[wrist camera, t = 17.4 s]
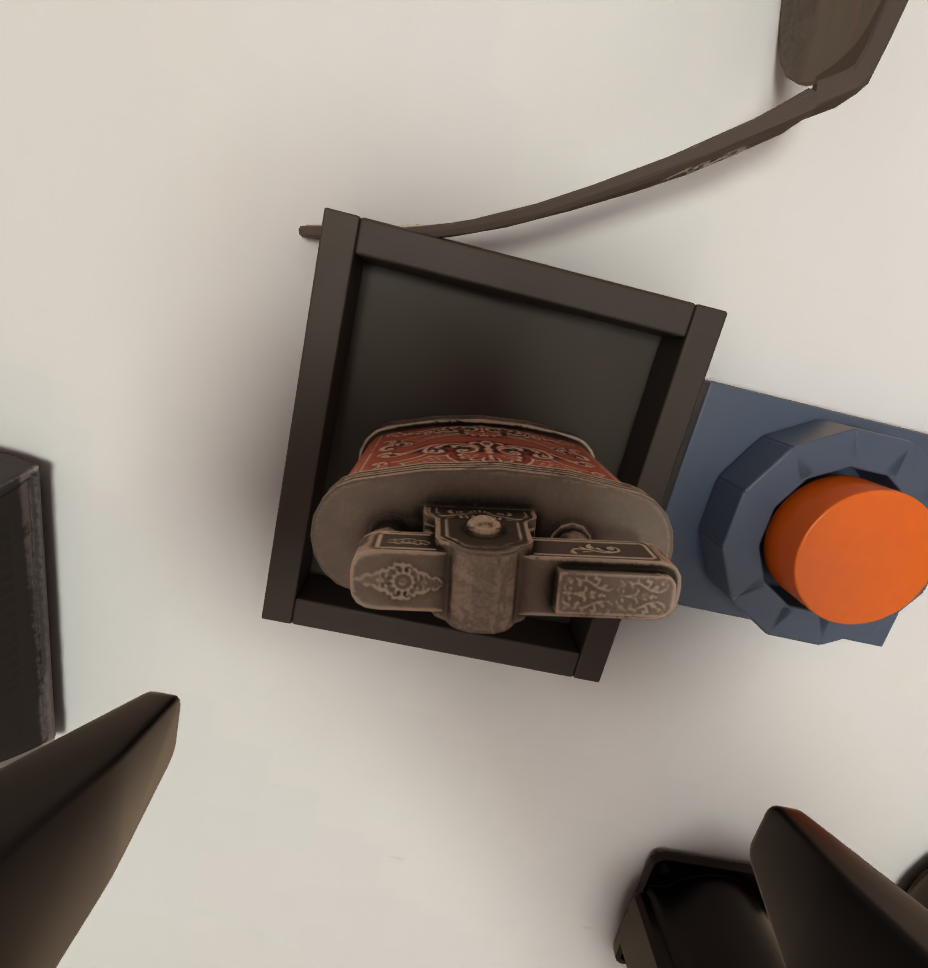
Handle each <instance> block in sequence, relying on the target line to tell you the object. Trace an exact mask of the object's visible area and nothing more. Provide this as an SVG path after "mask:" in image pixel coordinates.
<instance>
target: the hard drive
mask: <svg viewBox="0 0 928 968" xmlns="http://www.w3.org/2000/svg"><path fill="white" fill-rule="evenodd" d="M49 640H50V636H49V618H48V600H47V587H46V569H45V553H44V540H43V526H42V506H41V491H40V473H39V466H38V465H37V464H34V463H29V462H26V461H25V460H23V459H21V458H18V457H15V456H12V455H8V454H3V453H0V769H1V768H3V767H4V766H6V765H8V764H10V763H12V762H14V761H16V760H18V759H20V758H22V757H24V756H26V755H27V754H29V753H31V752H33V751H35V750H37V749H39V748H41V747H43V746H45V745H47V744H49V743H51V742H52V741H54V739H55V735H56V733H55V716H54V705H53V687H52V674H51V660H50V658H51V653H50V643H49Z"/></svg>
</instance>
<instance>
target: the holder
mask: <svg viewBox="0 0 928 968" xmlns="http://www.w3.org/2000/svg"><path fill="white" fill-rule="evenodd" d="M726 316H727V312H726V311H722V310H718V309H715V308H711V307H707V306H703V305H699V304H698V305H695V304H694V303H691V302H687V301H683V300H680V299H676V298H672V297H668V296H664V295H660V294H656V293H653V292H649V291H645V290H641V289H637V288H633V287H629V286H626V285H622V284H618V283H614V282H610V281H606V280H602V279H599V278H595V277H591V276H587V275H583V274H579V273H576V272H572V271H568V270H564V269H560V268H556V267H552V266H549V265H545V264H541V263H537V262H533V261H529V260H525V259H522V258H518V257H514V256H510V255H506V254H502V253H498V252H495V251H491V250H487V249H483V248H479V247H475V246H471V245H468V244H464V243H460V242H456V241H452V240H448V239H444V238H440V237H434V236H431V235H428V234H425V233H421V232H417V231H414V230H410V229H406V228H402V227H398V226H394V225H391V224H387V223H383V222H379V221H375V220H371V219H367V218H360V217H359V216H357V215H353V214H349V213H345V212H341V211H337V210H334V209H330V208H325V209H324V216H323V222H322V229H321V235H320V242H319V248H318V255H317V261H316V268H315V274H314V281H313V287H312V294H311V300H310V307H309V313H308V320H307V326H306V333H305V339H304V346H303V352H302V359H301V365H300V372H299V378H298V385H297V391H296V398H295V404H294V411H293V417H292V424H291V430H290V437H289V443H288V450H287V456H286V463H285V469H284V476H283V482H282V489H281V495H280V502H279V508H278V515H277V521H276V528H275V534H274V541H273V547H272V554H271V560H270V567H269V573H268V580H267V586H266V593H265V599H264V606H263V612H262V618H263V619H269V620H274V621H279V622H284V623H291V622H292V623H293V624H297V625H303V626H308V627H313V628H318V629H323V630H329V631H334V632H339V633H344V634H350V635H355V636H360V637H365V638H371V639H376V640H381V641H386V642H391V643H397V644H402V645H407V646H412V647H418V648H423V649H428V650H433V651H438V652H444V653H449V654H454V655H459V656H465V657H470V658H475V659H480V660H485V661H491V662H496V663H501V664H506V665H512V666H517V667H522V668H527V669H533V670H538V671H543V672H548V673H553V674H559V675H564V676H569V677H572V676H573V677H574V678H579V679H584V680H589V681H594V682H599V681H600V678H601V675H602V672H603V669H604V667H605V664H606V661H607V658H608V655H609V652H610V649H611V646H612V644H613V641H614V638H615V635H616V632H617V629H618V626H619V623H620V621H621V619H620V618H593V617H566V616H539V615H526V617H525V618H524V620H522V621H520V622H517V623H514V624H513V626H512V627H511V628H510V629H508V630H506V631H504V632H500V633H495V634H481V633H467V632H463V631H460V630H457V629H455V628H453V627H451V626H450V625H449V624H448V623H447V622H446V621H445V620H442V619H439V618H437V617H435V616H434V614H433V613H432V612H431V611H404V610H377V609H371V608H365V607H363V606H361V605H360V604H358V603H356V601H355V600H354V598H353V597H352V595H351V590H350V589H348V588H345V587H343V586H341V585H338V584H336V583H335V582H334V581H333V580H332V579H331V578H330V577H329V576H328V575H327V574H325V573H324V572H323V570H322V568H321V567H320V565H319V563H318V561H317V559H316V557H315V556H314V552H313V547H312V542H311V536H310V534H311V527H312V520H313V515H314V513H315V511H316V510H317V508H318V506H319V504H320V502H321V500H322V498H323V497H324V496H325V494H326V493H327V492H328V490H329V489H330V488H331V487H332V486H333V485H334V484H336V483H337V482H338V481H339V480H340V479H341V478H342V477H345V476H348V475H349V474H350V472H351V471H352V469H353V468H354V466H355V465H356V463H357V462H358V459H359V453H360V449H361V448H362V446H363V444H364V442H365V440H366V438H367V437H368V436H369V434H370V433H371V432H372V431H374V430H375V429H376V428H377V427H378V426H380V425H383V424H386V423H388V422H394V421H402V420H409V419H416V418H423V417H431V416H466V415H482V416H490V417H499V418H507V419H515V420H523V421H529V422H533V423H537V424H541V425H545V426H549V427H553V428H557V429H561V430H565V431H569V432H571V433H573V434H575V435H577V436H579V437H580V438H581V439H582V440H584V441H585V443H586V444H587V445H588V446H589V447H590V448H591V449H592V451H593V454H594V456H595V459H596V460H597V461H598V462H599V463H600V464H602V465H603V466H604V467H605V468H606V469H607V470H608V471H609V472H610V473H612V474H613V475H614V476H615V477H616V478H617V479H618V480H619V481H620V482H622V483H626V484H630V485H632V486H634V487H636V488H638V489H640V490H642V491H644V492H645V493H647V494H648V495H649V496H650V497H651V498H653V499H654V500H655V501H656V502H657V503H658V504H659V506H661V503H662V500H663V497H664V494H665V491H666V488H667V485H668V483H669V480H670V477H671V474H672V471H673V468H674V465H675V462H676V460H677V457H678V454H679V451H680V448H681V445H682V442H683V439H684V437H685V434H686V431H687V428H688V425H689V422H690V419H691V417H692V414H693V411H694V408H695V405H696V402H697V399H698V396H699V394H700V391H701V388H702V385H703V382H704V379H705V376H706V373H707V371H708V368H709V365H710V362H711V359H712V356H713V353H714V350H715V348H716V345H717V342H718V339H719V336H720V333H721V330H722V327H723V325H724V322H725V319H726Z"/></svg>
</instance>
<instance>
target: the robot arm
mask: <svg viewBox="0 0 928 968" xmlns="http://www.w3.org/2000/svg"><path fill="white" fill-rule="evenodd" d="M179 713H180V699H179V698H178V697H177V696H176V695H171V694H165V693H160V692H147V693H145V694H143V695H141V696H139V697H137V698H135V699H133V700H131V701H129V702H127V703H125V704H124V705H122V706H120V707H118V708H116V709H114V710H112V711H110V712H108V713H106V714H104V715H102V716H100V717H99V718H97V719H95V720H93V721H91V722H89V723H87V724H85V725H83V726H81V727H79V728H77V729H76V730H74V731H72V732H70V733H68V734H66V735H64V736H62V737H60V738H58V739H56V740H54V741H52V742H51V743H49V744H47V745H45V746H43V747H41V748H39V749H37V750H35V751H33V752H31V753H29V754H27V755H26V756H24V757H22V758H20V759H18V760H16V761H14V762H12V763H10V764H8V765H6V766H4V767H3V768H1V769H0V968H56V967H57V965H58V963H59V962H60V960H61V959H62V957H63V955H64V954H65V952H66V951H67V949H68V947H69V946H70V944H71V943H72V941H73V939H74V938H75V936H76V935H77V933H78V931H79V930H80V928H81V927H82V925H83V923H84V922H85V920H86V919H87V917H88V915H89V914H90V912H91V911H92V909H93V907H94V906H95V904H96V903H97V901H98V899H99V898H100V896H101V894H102V893H103V891H104V889H105V888H106V886H107V884H108V883H109V881H110V879H111V877H112V876H113V874H114V872H115V870H116V868H117V866H118V864H119V862H120V860H121V858H122V857H123V855H124V853H125V851H126V849H127V847H128V845H129V843H130V841H131V839H132V837H133V835H134V833H135V831H136V829H137V827H138V825H139V823H140V821H141V819H142V817H143V815H144V813H145V811H146V809H147V807H148V805H149V803H150V801H151V799H152V797H153V795H154V793H155V791H156V789H157V787H158V785H159V783H160V781H161V779H162V777H163V775H164V773H165V771H166V769H167V767H168V765H169V762H170V760H171V758H172V755H173V752H174V749H175V744H176V737H177V729H178V721H179ZM750 861H751V865H752V866H750V865H744V864H738V863H732V862H726V861H720V860H714V859H707V858H701V857H695V856H689V855H683V854H677V853H671V852H665V851H659V852H656V853H654V854H653V855H652V856H651V858H650V860H649V862H648V864H647V867H646V869H645V872H644V874H643V876H642V879H641V881H640V884H639V886H638V888H637V891H636V893H635V895H634V896H633V899H632V901H631V903H630V906H629V908H628V911H627V913H626V915H625V918H624V920H623V923H622V925H621V927H620V930H619V932H618V936H617V939H616V941H615V943H614V946H613V950H614V954H615V958H616V960H617V961H618V962H619V963H622V964H626V966H627V968H928V909H927V908H925V907H924V906H923V905H921V904H920V903H919V902H918V901H916V900H915V899H914V898H912V897H911V896H910V895H909V894H907V893H906V892H905V891H903V890H902V889H901V888H900V887H898V886H897V885H896V884H894V883H893V882H892V881H891V880H889V879H888V878H887V877H885V876H884V875H883V874H882V873H880V872H879V871H878V870H876V869H875V868H874V867H873V866H871V865H870V864H869V863H867V862H866V861H865V860H864V859H862V858H861V857H860V856H858V855H857V854H856V853H855V852H853V851H852V850H851V849H849V848H848V847H847V846H846V845H844V844H843V843H842V842H840V841H839V840H838V839H837V838H835V837H834V836H833V835H831V834H830V833H829V832H828V831H826V830H825V829H824V828H822V827H821V826H820V825H819V824H817V823H816V822H815V821H813V820H812V819H811V818H810V817H808V816H807V815H806V814H804V813H803V812H801V811H799V810H797V809H793V808H787V807H782V806H772V807H771V808H769V809H768V810H767V812H766V813H765V815H764V818H763V820H762V822H761V824H760V826H759V828H758V830H757V832H756V834H755V836H754V838H753V840H752V843H751V846H750Z"/></svg>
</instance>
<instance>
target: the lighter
mask: <svg viewBox="0 0 928 968" xmlns="http://www.w3.org/2000/svg"><path fill="white" fill-rule="evenodd" d="M310 536H311V542H312V547H313V552H314V556H315V557H316V559H317V561H318V563H319V565H320V567H321V568H322V570H323V572H324V573H325V574H327V575H328V576H329V577H330V578H331V579H332V580H333V581H334V582H335V583H336V584H338V585H341V586H343V587H345V588H348V589H350V590H351V595H352V597H353V598H354V600H355V601H356V603H358V604H360V605H361V606H363V607H365V608H371V609H377V610H404V611H431V612H432V613H433V614H434V616H435V617H437V618H439V619H442V620H445V621H446V622H447V623H448V624H449V625H450V626H451V627H453V628H455V629H457V630H460V631H463V632H467V633H481V634H495V633H500V632H504V631H506V630H508V629H510V628H511V627H512V626H513V624H514V623H517V622H520V621H522V620H524V618H525V617H526V615H539V616H566V617H593V618H620V619H647V620H650V619H661V618H663V617H665V616H667V615H670V613H671V612H672V611H673V610H674V609H675V608H676V605H677V602H678V599H679V595H680V590H681V575H680V573H679V571H678V569H677V567H676V566H675V565H674V564H673V563H672V562H671V561H670V558H671V555H672V552H673V530H672V527H671V524H670V521H669V518H668V515H667V514H666V512H665V511H664V510H663V509H662V508H661V507H660V506H659V504H658V503H657V502H656V501H655V500H654V499H653V498H651V497H650V496H649V495H648V494H647V493H645V492H644V491H642V490H640V489H638V488H636V487H634V486H632V485H630V484H626V483H622V482H620V481H619V480H618V479H617V478H616V477H615V476H614V475H613V474H612V473H610V472H609V471H608V470H607V469H606V468H605V467H604V466H603V465H602V464H600V463H599V462H598V461H597V460H596V459H595V456H594V454H593V451H592V449H591V448H590V447H589V446H588V445H587V444H586V443H585V441H584V440H582V439H581V438H580V437H579V436H577V435H575V434H573V433H571V432H569V431H565V430H561V429H557V428H553V427H549V426H545V425H541V424H537V423H533V422H529V421H523V420H515V419H507V418H499V417H490V416H482V415H466V416H431V417H423V418H416V419H409V420H402V421H394V422H388V423H386V424H383V425H380V426H378V427H377V428H376V429H375V430H374V431H372V432H371V433H370V434H369V436H368V437H367V438H366V440H365V442H364V444H363V446H362V448H361V449H360V453H359V459H358V462H357V463H356V465H355V466H354V468H353V469H352V471H351V472H350V474H349V475H348V476H345V477H342V478H341V479H340V480H339V481H338V482H337V483H336V484H334V485H333V486H332V487H331V488H330V489H329V490H328V492H327V493H326V494H325V496H324V497H323V498H322V500H321V502H320V504H319V506H318V508H317V510H316V511H315V513H314V515H313V520H312V527H311V534H310Z"/></svg>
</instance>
